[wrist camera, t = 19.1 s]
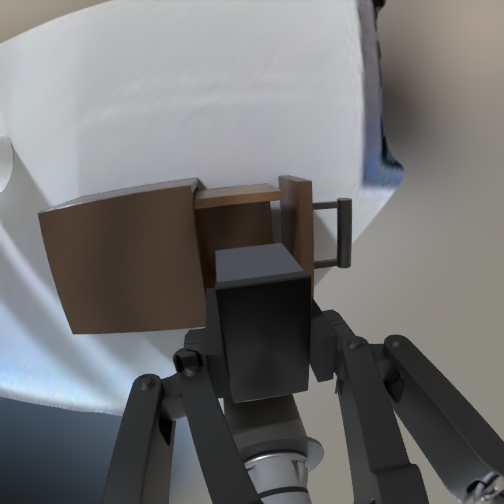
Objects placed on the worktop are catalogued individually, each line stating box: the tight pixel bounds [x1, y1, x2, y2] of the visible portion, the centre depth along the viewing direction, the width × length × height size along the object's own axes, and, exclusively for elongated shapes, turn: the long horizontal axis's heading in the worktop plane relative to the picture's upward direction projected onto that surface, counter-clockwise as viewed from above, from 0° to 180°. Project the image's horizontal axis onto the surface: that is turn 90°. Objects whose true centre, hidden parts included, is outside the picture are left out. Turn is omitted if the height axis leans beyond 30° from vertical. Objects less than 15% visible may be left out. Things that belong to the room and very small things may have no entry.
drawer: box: [192, 175, 352, 298], centre depth 29 cm, size 18×11×8 cm, turn 95°
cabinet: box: [38, 178, 206, 334], centre depth 27 cm, size 15×13×10 cm
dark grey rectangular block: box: [214, 243, 312, 403], centre depth 16 cm, size 4×7×5 cm, turn 5°
